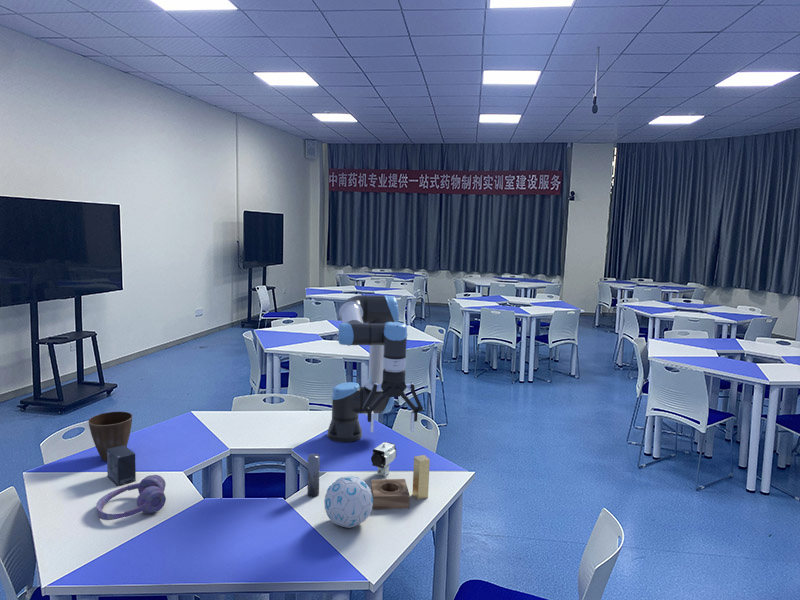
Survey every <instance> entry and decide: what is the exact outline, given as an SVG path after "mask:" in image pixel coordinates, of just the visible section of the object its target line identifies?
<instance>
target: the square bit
mask: <svg viewBox="0 0 800 600" xmlns="http://www.w3.org/2000/svg"><path fill="white" fill-rule="evenodd" d="M430 462H431V459H430V458H429V457H427V455H425V454H420V455H417V456H413V474H412V496H413V497H414V498H415V499H417V500H418V501H419V500H423V499H428V498H429V487H430V486H429V485H430V464H431V463H430Z"/></svg>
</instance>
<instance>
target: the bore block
mask: <svg viewBox="0 0 800 600" xmlns="http://www.w3.org/2000/svg"><path fill="white" fill-rule="evenodd" d="M370 490H371V493H372V497H373V505H372V510H391V509H392V510H394V509H396V510H397V509H401V510H402V509H410V491H409V489H408V486H407V481H406V478H385V479H384V478H383V479H382V478H381V479H380V478H379V479H377V478H376V479H371V480H370Z"/></svg>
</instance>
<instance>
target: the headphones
mask: <svg viewBox="0 0 800 600" xmlns="http://www.w3.org/2000/svg"><path fill="white" fill-rule="evenodd" d="M165 489H166V480H165V479H164V477H163V476H161V475H159V474H151V475H147V476H145V477H144V478H143V479H141V481H139V482H137V483H134V484H128V485H127V486H124V487H121V488H117V489H114V490H112V491H111V492H108V493H107V494H105V495H103V496H102V497H100V498H99V499H98V501H97V502H96V506H95V507H96V511H97V515H98V518H99V519H101V520H103V521H114V520H118V519H119V520H120V519H124V518H128V517H132V516H134V515H137V514H139V513H143V514H147V515H149V514H150V515H151V514H154V513H157V512H159V511H161V510H162V509H163V507H164V506H165V504H166V499H167V498H166V495H165ZM134 490H137V491H138V493H139V494H138V496H137V498H136V506H137V507H135V508H132V509H129V510H126V511H124V512H122V513H121V512H120V513H107V512H104V511H103V509H104V508H105V505H106V504H107V503H108V502H109V501H111V500H112V499H113V498H114V497H117V496H119V495H120V494H123V493H124V492H127V491H128V492H129V491H134Z"/></svg>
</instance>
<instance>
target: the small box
mask: <svg viewBox="0 0 800 600" xmlns="http://www.w3.org/2000/svg"><path fill="white" fill-rule="evenodd" d="M106 462H107V465H106V466H107V467H106V469H107V470H106V471H107V478H108V479H109V480H110V481H112V483H114V484H115V485H116V486H117V487H120V486H123V485H126V484H130V483H134V482H136V481H137V479H136V478H137V477H136V476H137V475H136V472H137V471H136V452H134V451H133V450H132V449H130V448H128V446H127V447H126V446H125V445H122V446H118V447H114V448H109V449H107V461H106Z"/></svg>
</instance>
